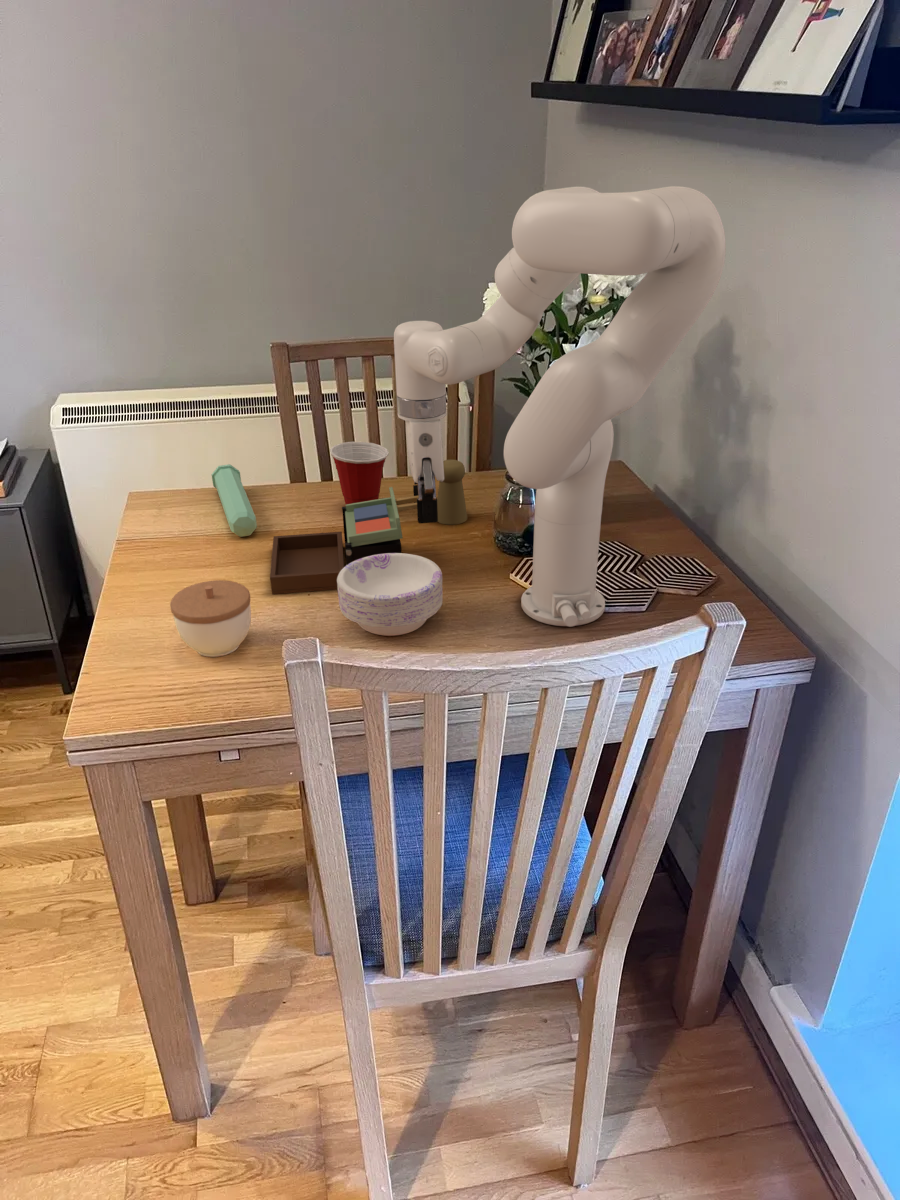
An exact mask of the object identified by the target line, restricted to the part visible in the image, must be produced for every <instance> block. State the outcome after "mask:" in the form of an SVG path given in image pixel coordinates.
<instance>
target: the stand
mask: <svg viewBox="0 0 900 1200" xmlns="http://www.w3.org/2000/svg"><path fill="white" fill-rule="evenodd" d="M345 511H347V510H346V506H341V513H342V523H343V524H342V526H343V536H344V537H343V538H344V548H345V562H346V565H348V564H349V563H351V562H353V561H355V560H358V559H361V558H364V557H367V556H372V555H377V554H385V553H402V542H401V539H396V540H390V541H384V542H378V543H372V544H366V545H360V546H354V547H352V544H351V543H348V540H347V529H346V517H345Z"/></svg>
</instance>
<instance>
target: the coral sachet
mask: <svg viewBox="0 0 900 1200" xmlns="http://www.w3.org/2000/svg"><path fill="white" fill-rule="evenodd" d="M355 526H356V534H360V533H366V532H373V531H379V530H385V529H391V526H390V521H389V517H387V518H381V519H374V520H368V521H362V522H356V523H355Z"/></svg>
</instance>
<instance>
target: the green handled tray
mask: <svg viewBox="0 0 900 1200" xmlns="http://www.w3.org/2000/svg"><path fill="white" fill-rule="evenodd" d="M388 489H389V490H388V491H389V495H390V497H383V498H379V499H377V500H370V501H364V502H358V503H352V504H345V507H346V510H347V511H345V517H346V529H347V540H348V543H351V544H352V547H354V546H360V545H366V544H372V543H378V542H384V541H390V540H396V539H400V540H401V539H404V538H403V530H402V526H401V520H400V519H401V518H400V515H399V513H401V512H405V511H406V512H407V511H413V510H417V503H414V502H417V499H418V496H414V495H412V496H405V497H400V498H396V496H395V491H394V488H393V486H389V487H388ZM380 504H386V506H387V511H388V517H389V521H390V526H391V529H385V530H379V531H373V532H366V533H360V534H356V526H355V517H354V509H356V508H362V507H368V506H374V505H380Z"/></svg>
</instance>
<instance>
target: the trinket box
mask: <svg viewBox="0 0 900 1200" xmlns="http://www.w3.org/2000/svg"><path fill="white" fill-rule="evenodd" d="M169 603H170V605H169V606H170V610H171V614H172V617H173V621H174V625H175V627H176V630H177V633H178V635H179V637H180V639H181V640H182V641H183V643H184V644H185V645H187V646H188V647H189V648H190V649H192V650H194V651H195V652H197V653H198V654H199V655H201V656H203V657H208V658H218V657H223V656H226V655H230V654H232V653H234V652H235V651H236V650H237V649H239V647H240V645H241V643H243V642H244V640H245V639H246V637H247V636H248V634H249V631H250V628H251V623H252V607H251V593H250V590H249V589H248V588H247V587H246V586H245V585H243V584H241V583H239V582H236V581H231V580H224V579H223V580H220V579H217V580H216V579H215V580H207V581H202V582H198V583H195V584H191V585H189V586H186V587H184V588H183V589H180V590H179V591H178V592H176V594H174V595H173V596H172V598H171V600H170V602H169Z"/></svg>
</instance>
